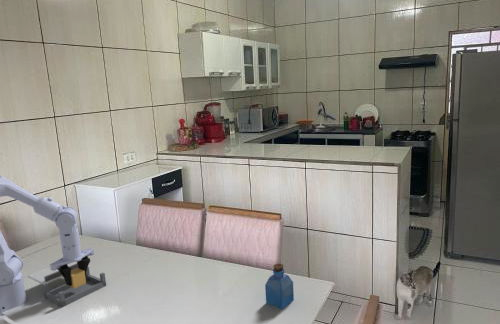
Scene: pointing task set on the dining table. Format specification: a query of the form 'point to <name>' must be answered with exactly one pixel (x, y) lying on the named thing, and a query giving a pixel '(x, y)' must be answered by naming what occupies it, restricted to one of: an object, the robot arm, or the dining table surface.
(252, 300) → the dining table surface
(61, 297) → the case
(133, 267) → the dining table surface
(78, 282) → the block
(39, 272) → the lid
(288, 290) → the perfume bottle
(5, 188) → the robot arm
